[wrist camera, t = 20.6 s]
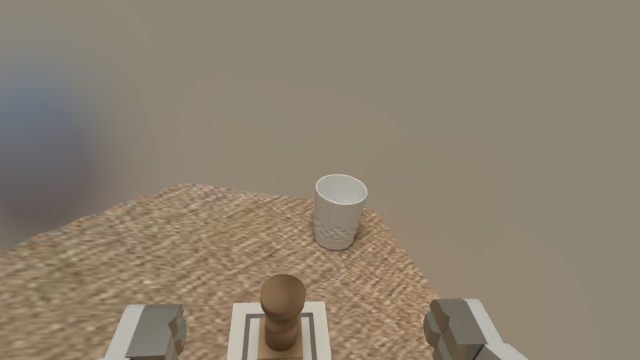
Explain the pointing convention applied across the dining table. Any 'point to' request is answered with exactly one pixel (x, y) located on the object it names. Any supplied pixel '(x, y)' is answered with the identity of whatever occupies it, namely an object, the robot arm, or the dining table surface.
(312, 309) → the print card
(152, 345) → the robot arm
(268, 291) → the stamp
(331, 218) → the white cup
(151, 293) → the dining table surface
